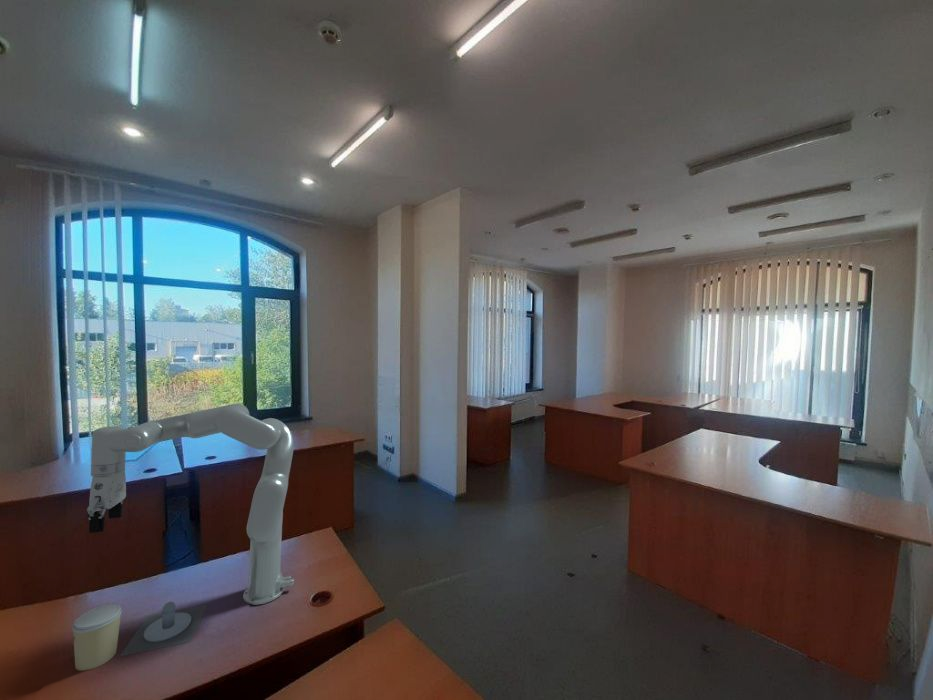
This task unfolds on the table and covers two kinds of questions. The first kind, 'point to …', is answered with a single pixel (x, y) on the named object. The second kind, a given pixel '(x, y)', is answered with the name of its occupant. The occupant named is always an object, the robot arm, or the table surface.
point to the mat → (186, 636)
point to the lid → (167, 624)
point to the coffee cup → (96, 636)
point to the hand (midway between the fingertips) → (106, 524)
